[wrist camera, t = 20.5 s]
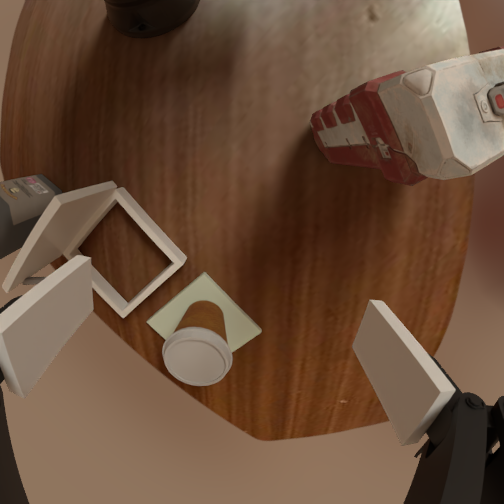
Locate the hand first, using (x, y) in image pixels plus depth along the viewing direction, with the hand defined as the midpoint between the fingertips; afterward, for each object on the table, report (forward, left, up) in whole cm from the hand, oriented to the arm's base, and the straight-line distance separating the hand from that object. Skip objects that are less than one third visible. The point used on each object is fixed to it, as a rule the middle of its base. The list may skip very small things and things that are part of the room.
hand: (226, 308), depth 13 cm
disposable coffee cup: (+11, -16, -31) cm, 36 cm away
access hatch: (-6, -19, -32) cm, 37 cm away
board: (+12, -18, -32) cm, 38 cm away
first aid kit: (+3, +25, -32) cm, 41 cm away
